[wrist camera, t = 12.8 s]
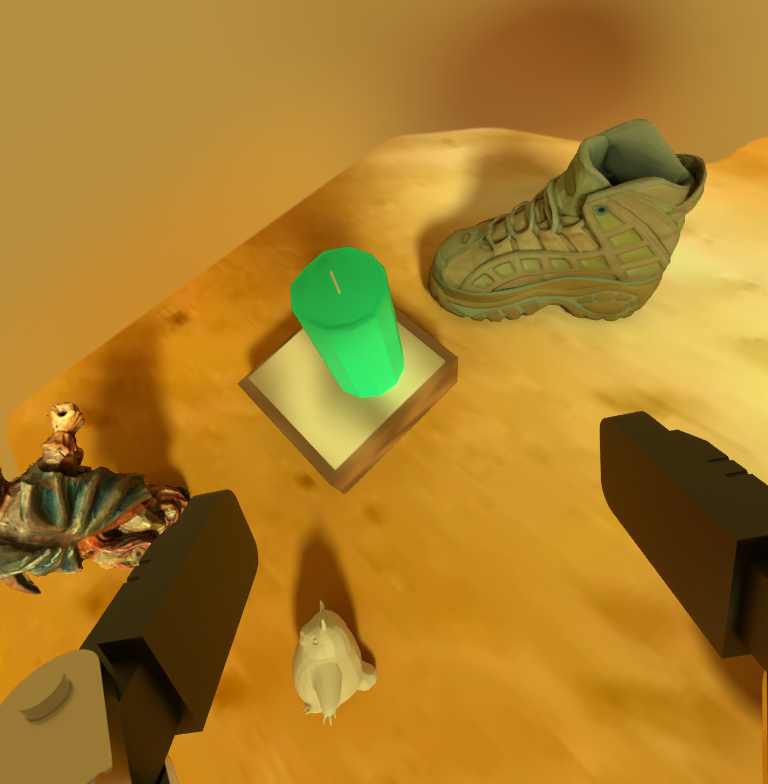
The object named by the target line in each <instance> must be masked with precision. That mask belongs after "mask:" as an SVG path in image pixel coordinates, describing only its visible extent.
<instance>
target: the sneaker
mask: <svg viewBox="0 0 768 784" xmlns="http://www.w3.org/2000/svg"><path fill="white" fill-rule="evenodd" d="M706 177H707V172H706V167H705V163H704V161H703V159H702V158H699V157H697V156H693V155H688V154H675V153H674V152H673V150H672V149H671V148H670V147H669V145H668V144H667V143H666V141H665V140H664V139H663V137H662V136H661V134H660V132H659V131H658V129H657V128H656V127H655V126H654V125H653V124H652V123H651V122H649V121H647V120H645V119H635V120H631V121H628V122H625V123H623V124H620V125H618V126H615V127H613V128H610V129H608V130H606V131H604V132H602V133H600V134H598V135H596V136H593V137H590V138H587V139H585V140H584V141H583V142H582V143H581V144H580V146H579V149H578V151H577V153H576V155H575V157H574V158H573V159H572V161H571V163H570V165H569V167H568V169H567V170H566V171H565V172H563V173H562V174H561V175H560V176H558V177H556V178H554V179H551V180H550V181H549V182H548V184H547V186H546V187H545V188H544V189H543V190H541V191H540V192H539V193H538V194H537V195H536V196H535V197H534V198H533V200H532V201H531V202H528V201H524V202H522V203H521V204H519V205H518V206H516V207H515V208H514V209H513V210H512V212H511V213H509V214H503V215H500V216H499V217H496V218H492V219H489V220H486V221H483V222H481V223H479V224H478V225H476V226H474V227H471V228H467V229H462V230H458V231H455V232H454V233H453V234H452V235H451V236H449V237H448V238H447V239H446V240H445V241H444V242H443V243H442V244H441V246H440V247H439V249H438V251H437V253H436V255H435V258H434V261H433V264H432V266H431V268H430V272H429V281H428V287H429V291H430V294H431V296H432V297H433V298H435V299H437V300H439V303H440V306H441V307H442V308H444V309H445V310H446V311H448V312H450V313H452V314H455V315H457V316H459V317H470V318H471V319H473V320H478V321H482V320H484V319H485V318H486V319H488V320H490V321H497V322H500V321H501V320H502V319H503V318H507V319H509V320H514V319H518V318H519V317H520V316H521V315H522V314H523V315H526V316H527V315H532V314H534V313H535V312H536V311H538V310H539V309H541V308H543V307H545V306H547V305H562V306H563V307H565V308H566V309H567V310H568V311H569V312H570V313H571V314H572V315H573V316H575V317H578V318H588V319H592V320H600V319H602V318H603V319H605V320H607V321H615V320H616V319H618V318H626V317H628V316H630V315H632V314H633V313H634V311H636V310H639V309H640V308H641V307H642V306H643V305H644V304H645V303H646V302H647V300H648V299H649V298H650V297H651V296H652V294H653V293H654V291H655V290H656V289H657V287H658V285H659V283H660V281H661V279H662V275H663V272H664V271H665V269H666V267H667V265H668V264H669V263H670V257H671V255H672V253H673V251H674V249H675V247H676V245H677V243H678V241H679V237H680V232H681V229H682V227H683V225H684V222H685V215H686V214H687V213H688V212H690V211H691V210H692V209H693V208H694V207H695V206H696V204H697V202H698V201H699V199H700V197H701V196H702V194H703V192H704V184H705V181H706Z"/></svg>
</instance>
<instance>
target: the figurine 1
mask: <svg viewBox="0 0 768 784" xmlns="http://www.w3.org/2000/svg"><path fill="white" fill-rule="evenodd" d="M50 415H51V420H52V426H53V430H54V433H53V434H52V435H51V436H50V437H49V438H48V440H47V441H46V442H44V443H43V444H42V445H41V448H43V450H44V453H42V455H43V456H42V458H38V459H37V462H36V463H35V464H34V463H33V464H30V465H29V467H30V468H28V469H27V472H25V473H24V474H22V475H21V477H16V478H14V479H13V480H12V481H10V482H8V481H6V480H5V479H4V477H3V476H2V473H1V471H2V470H1V468H0V579H1V580H2V581H3V582H4V583H5V584H6V585H8V586H9V587H10V588H12V589H15V590H16V591H20V592H23V593H27V594H29V593H30V594H41V592H40V590H39V588H38V587H37V586H35V585H33V584H34V583H33V581H31V580H30V578H29V577H28V574H27V575H25V573H24V572H26V571H29V572H31V573H32V574H33V575H35V576H46V575H47V574H49V573H52V572H59V573H65V574H69V573H78V572H80V571H81V570H82V569H83V567H82V564H81V563H82V561H83V560H84V559H88V560H93V561H95V562H97V563H98V564H99V565H100V566H101V567H102V568H106V569H107V570H109V569H110V568H111V569H114V568H115V567H118V568H121V569H124V570H133V569H134V568H135V566H138V565H139V560H140V559H141V557H142V556H143V554H144V553H145V551H146V550H147V548H148V547H149V546H150V544H151V543H152V541H153V540H154V539H156V538H157V537H158V536H159V535H160V534H161V533H162V532H163V531H164V530H165V529H167V528H168V527H169V526H170V525H171V524H172V523H175V522H176V521H177V519H178V518H179V516H180V515H181V513H182V511H183V510H184V508H185V507H186V505H187V504H188V502H189V501H190V498H189V493H188V491H187V490H186V489H183V488H181V487H170V486H153V485H150V483H146V484H144V478H145V476H144V475H143V474H139V473H128V474H126V473H125V474H121V473H120V474H118V473H117V474H116V473H114V472H112V471H110V470H109V468H105V467H98V468H97V469H95V470H92V471H91V467H88V466H81V465H80V464H81V462H82V459H83V454H84V451H83V449H81V448H79V447H77V445H76V438H75V433H76V432H77V431H78V430H79V429H80V427H81V426H82V425H83V424H84V423H85V420H84V418H83V415H82V413H80V411H79V408H78V407H77V405H75V404H73V403H69V402H64V403H61V404H57V405H55V406H54V407H52V409H51V411H50ZM47 416H48V415H47Z"/></svg>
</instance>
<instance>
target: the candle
mask: <svg viewBox="0 0 768 784" xmlns="http://www.w3.org/2000/svg"><path fill="white" fill-rule="evenodd" d="M290 289H291V306H292V311H293V312H294V314H295V316H296V317H297V319H298V320H299V322H300V324H301V325H302V327H303V328H304V330H305V332H306V333H307V335H308V337H309V338H310V340H311V341H312V343H313V345H314V346H315V348H316V349H317V351H318V353H319V354H320V356H321V357H322V359H323V361H324V362H325V364H326V365H327V367H328V369H329V370H330V372H331V374H332V375H333V377H334V378H335V380H336V381H337V382H338V384H339V385H340V387H341V388H342V389H343V391H345V392H347V393H350V394H352V395H355V396H357V397H359V398H366V397H374V396H381V395H382V394H384V393H385V392H386V391H388V390H389V389H391V388H392V387H394V386H395V385H396V384H397V382H398V380H399V378H400V376H401V374H402V372H403V370H404V368H405V365H404V356H403V348H402V344H401V339H400V335H399V330H398V325H397V321H396V316H395V312H394V307H393V302H392V298H391V293H390V289H389V284H388V279H387V275H386V270H385V268H384V267H383V266H382V265H381V264H380V263H379V262H378V261H377V259H376V258H375V257H374V256H373V255H372V254H370V253H367V252H364V251H361V250H358V249H355V248H352V247H349V246H347V247H342V248H337V249H332V250H327V251H323V252H322V253H321V254H320V255H319V256H318V257H316V258H315V259H314V260H313V261H312V262H311V263H310V264H308V265H307V266H306V267H305V268H304V269H303V270H302V272H301V273H300V274H299V275H298V276H297V278H296V279H295V280H294V281H293V282H292V284H291V285H290Z"/></svg>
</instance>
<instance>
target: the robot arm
mask: <svg viewBox="0 0 768 784" xmlns="http://www.w3.org/2000/svg"><path fill="white" fill-rule="evenodd" d="M600 460H601V484H602V489H603V493H604V496H605V499H606V501H607V504H608V506H609V507H610V509H611V511H612V512H613V514H614V515H615V516H616V518H617V519H618V520H619V522H620V523H621V524H622V526H623V527H624V528H625V530H626V531H627V532H628V534H629V535H630V536H631V538H632V539H633V540H634V542H635V543H636V544H637V546H638V547H639V548H640V550H641V551H642V552H643V554H644V555H645V556H646V558H647V559H648V560H649V562H650V563H651V564H652V566H653V567H654V568H655V570H656V571H657V572H658V574H659V575H660V576H661V578H662V579H663V580H664V582H665V583H666V584H667V586H668V587H669V588H670V590H671V591H672V592H673V594H674V595H675V596H676V598H677V599H678V600H679V602H680V603H681V604H682V606H683V607H684V608H685V610H686V611H687V612H688V614H689V615H690V616H691V618H692V619H693V620H694V622H695V623H696V624H697V626H698V627H699V628H700V630H701V631H702V632H703V634H704V635H705V636H706V638H707V639H708V640H709V642H710V643H711V644H712V646H713V647H714V648H715V650H716V651H717V652H718V654H719V655H720V656H721V658H728V657H735V656H742V655H749V654H752V655H753V656H754V658H755V659H756V660H757V661H758V662H759V664H760V665H761V666H762V667H763V668H764V675H763V682H762V722H763V784H768V485H766V484H765V483H764V482H762V481H761V480H760V479H758V478H757V477H756V476H754V475H753V474H748V473H747V470H746V469H745V468H743V467H742V466H740V465H739V464H738V463H736V462H735V461H734V460H729V458H728V456H727V455H725V454H724V453H723V452H721V451H720V450H719V449H717V448H716V447H714V446H713V445H712V444H710V443H709V442H708V441H706V440H703V439H701V438H698V437H695V436H693V435H690V434H688V433H685V432H682V431H680V430H673V431H669V430H668V429H666V428H665V427H664V426H663V425H661V424H660V423H659V422H658V421H656V420H655V419H654V418H652V417H651V416H650V415H649V414H647V413H646V412H643V411H639V412H634V413H629V414H624V415H618V416H613V417H608V418H604V419H602V421H601V423H600ZM257 567H258V551H257V546H256V543H255V540H254V538H253V535H252V533H251V531H250V528H249V526H248V524H247V521H246V519H245V517H244V515H243V512H242V510H241V508H240V505H239V503H238V501H237V498H236V496H235V495H234V493H233V492H232V491H230V490H222V491H217V492H211V493H206V494H201V495H196V496H193V497H192V498H191V499H190V501H189V502H188V504H187V505H186V507H185V508H184V510H183V511H182V513H181V515H180V516H179V518H178V519H177V521H176V522H175V523H172V524H171V525H170V526H169V527H168V528H167V529H165V530H164V531H163V532H162V533H161V534H160V535H159V536H158V537H157V538H156V539H154V540H153V541H152V543H151V544H150V546H149V547H148V548H147V550H146V551H145V553H144V554H143V556H142V557H141V559H140V560H139V565H138V566H135V568H134V569H133V571H132V572H131V574H130V575H129V576H128V578H127V583H124V584H123V585H122V587H121V588H120V590H119V591H118V593H117V594H116V596H115V597H114V599H113V600H112V602H111V603H110V604H109V606H108V607H107V609H106V610H105V612H104V613H103V615H102V616H101V618H100V619H99V621H98V622H97V624H96V625H95V627H94V628H93V630H92V631H91V633H90V634H89V635H88V637H87V638H86V640H85V641H84V643H83V644H82V646H81V647H80V649H79V650H75V651H71V652H68V653H65V654H62V655H60V656H58V657H56V658H54V659H52V660H50V661H49V662H47V663H45V664H44V665H42V666H41V667H39V668H38V669H36V670H35V671H34V672H32V673H31V674H30V675H28V676H27V677H26V678H25V679H24V680H23V681H22V682H20V683H19V684H18V685H17V686H16V687H15V688H14V689H13V690H12V691H11V693H10V694H9V695H8V696H7V697H6V698H5V699H4V701H3V702H2V703H1V705H0V784H178V780H177V776H176V772H175V768H174V765H173V762H172V760H171V759H170V757H169V756H168V751H169V749H170V746H171V744H172V741H173V739H174V736H175V735H180V734H186V733H193V732H200V731H203V728H204V725H205V722H206V719H207V716H208V713H209V711H210V708H211V705H212V702H213V699H214V696H215V693H216V690H217V687H218V684H219V681H220V678H221V675H222V672H223V669H224V666H225V663H226V660H227V657H228V655H229V652H230V649H231V646H232V643H233V640H234V637H235V634H236V631H237V628H238V625H239V622H240V619H241V616H242V613H243V610H244V607H245V604H246V601H247V598H248V596H249V593H250V590H251V587H252V584H253V581H254V578H255V575H256V572H257Z"/></svg>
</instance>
